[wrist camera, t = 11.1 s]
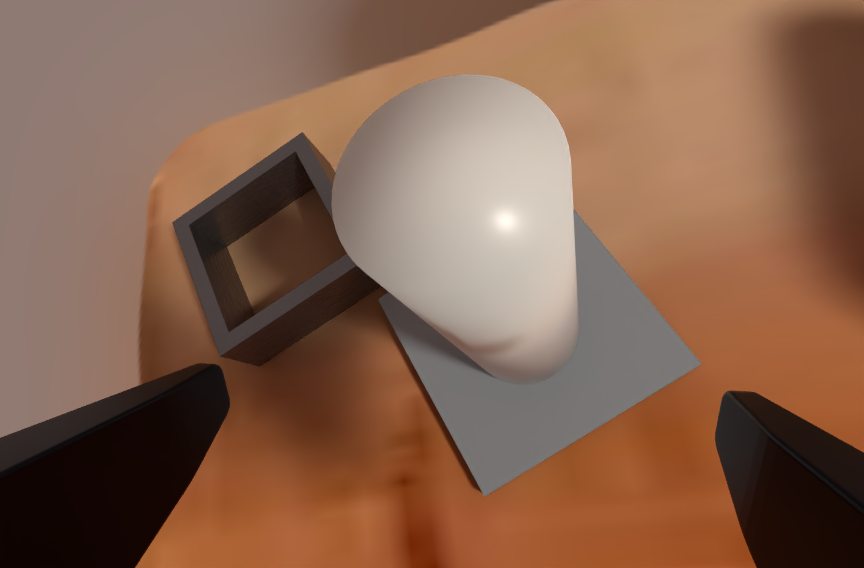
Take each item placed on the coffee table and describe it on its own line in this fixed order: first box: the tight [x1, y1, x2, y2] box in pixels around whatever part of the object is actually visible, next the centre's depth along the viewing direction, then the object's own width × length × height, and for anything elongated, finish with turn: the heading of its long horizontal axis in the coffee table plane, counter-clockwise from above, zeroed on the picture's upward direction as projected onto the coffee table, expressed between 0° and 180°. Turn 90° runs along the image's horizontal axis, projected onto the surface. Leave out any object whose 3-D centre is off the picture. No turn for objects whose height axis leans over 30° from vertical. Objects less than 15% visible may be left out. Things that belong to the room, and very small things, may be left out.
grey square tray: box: [172, 132, 381, 366], centre depth 25 cm, size 8×8×3 cm
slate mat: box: [378, 209, 701, 496], centre depth 22 cm, size 10×10×1 cm
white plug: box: [331, 74, 579, 384], centre depth 15 cm, size 5×5×13 cm
